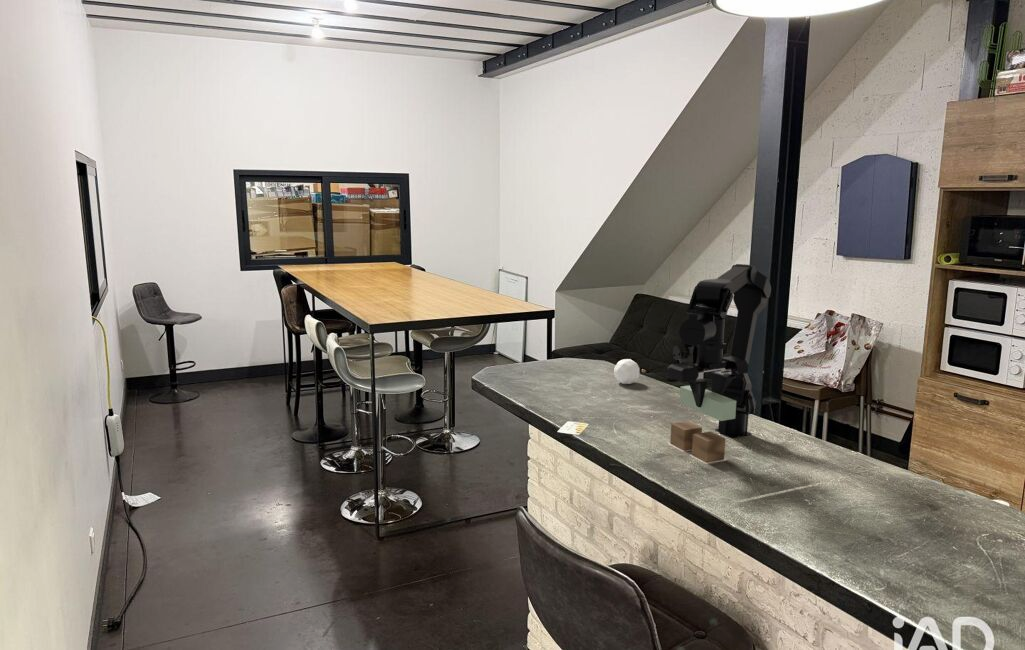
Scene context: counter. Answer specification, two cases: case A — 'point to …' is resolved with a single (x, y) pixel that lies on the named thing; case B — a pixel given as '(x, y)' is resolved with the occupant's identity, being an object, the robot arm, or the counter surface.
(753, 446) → the counter surface
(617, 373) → the white faceted ovoid
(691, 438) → the brown wooden cube
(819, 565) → the counter surface
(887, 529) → the counter surface
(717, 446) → the tan wood block
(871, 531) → the counter surface
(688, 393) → the plank
